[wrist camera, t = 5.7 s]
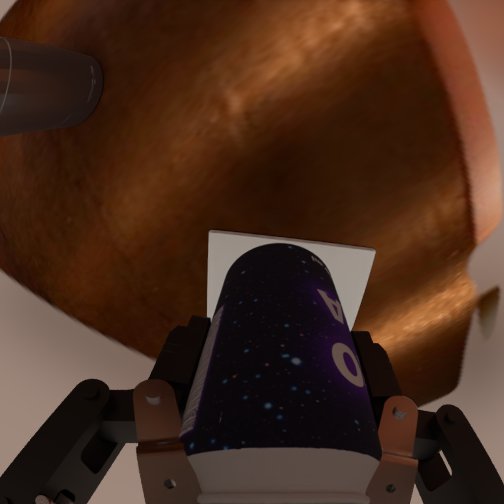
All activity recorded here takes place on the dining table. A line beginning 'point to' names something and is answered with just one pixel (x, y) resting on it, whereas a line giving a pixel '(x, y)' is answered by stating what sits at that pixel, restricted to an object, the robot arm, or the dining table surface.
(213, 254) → the mat
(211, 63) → the dining table surface
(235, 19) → the dining table surface
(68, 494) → the robot arm
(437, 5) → the dining table surface
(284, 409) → the beverage can
